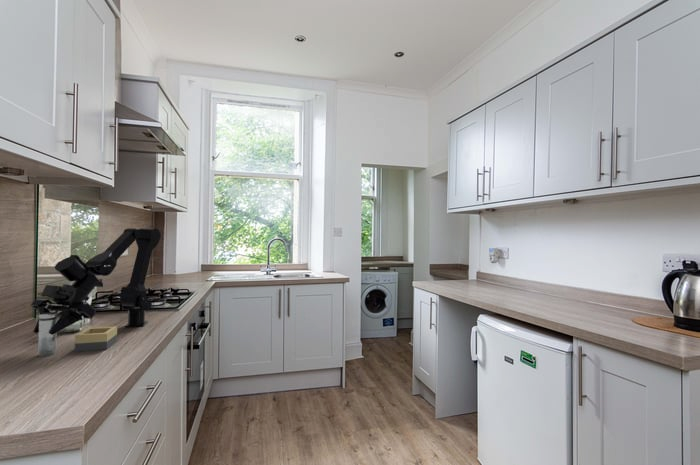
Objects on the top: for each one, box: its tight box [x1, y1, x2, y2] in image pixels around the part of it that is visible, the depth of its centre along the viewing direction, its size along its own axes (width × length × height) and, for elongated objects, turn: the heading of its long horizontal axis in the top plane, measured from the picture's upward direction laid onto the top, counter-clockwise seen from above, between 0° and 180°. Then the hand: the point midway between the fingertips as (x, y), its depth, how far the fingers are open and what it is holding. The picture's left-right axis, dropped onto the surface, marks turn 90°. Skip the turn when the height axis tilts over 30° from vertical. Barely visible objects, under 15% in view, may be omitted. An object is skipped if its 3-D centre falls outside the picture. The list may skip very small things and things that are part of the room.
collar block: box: [74, 326, 118, 353], centre depth 108 cm, size 8×8×5 cm
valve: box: [57, 320, 84, 333], centre depth 123 cm, size 7×7×12 cm
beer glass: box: [79, 290, 93, 325], centre depth 135 cm, size 7×7×15 cm
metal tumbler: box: [37, 312, 58, 357], centre depth 100 cm, size 4×4×12 cm
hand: (42, 333), depth 99 cm, fingers open, 5 cm apart
